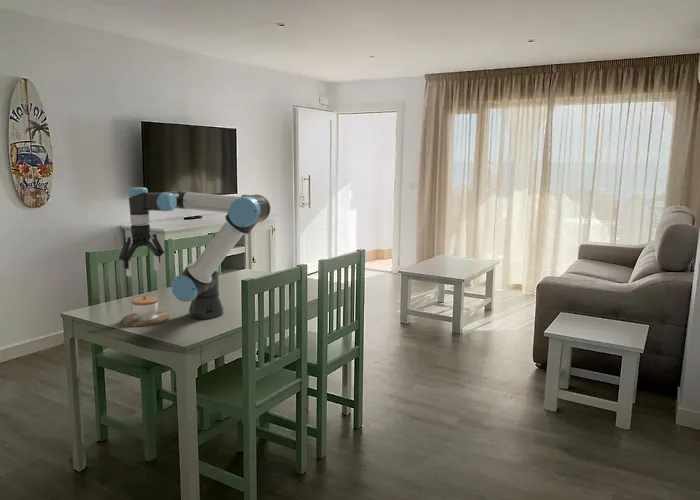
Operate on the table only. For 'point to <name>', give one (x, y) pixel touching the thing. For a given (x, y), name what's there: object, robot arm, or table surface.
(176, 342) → the table surface
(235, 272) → the table surface
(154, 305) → the lidded jar
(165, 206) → the robot arm
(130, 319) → the plate
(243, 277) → the table surface
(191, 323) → the table surface
